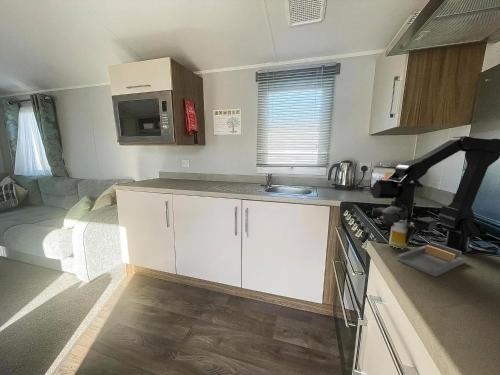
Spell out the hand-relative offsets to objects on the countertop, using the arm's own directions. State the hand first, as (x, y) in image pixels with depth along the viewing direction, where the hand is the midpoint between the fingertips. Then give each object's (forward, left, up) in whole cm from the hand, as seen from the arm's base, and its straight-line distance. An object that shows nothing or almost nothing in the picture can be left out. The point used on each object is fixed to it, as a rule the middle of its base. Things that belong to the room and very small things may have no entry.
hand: (398, 239), depth 76 cm
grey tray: (+2, +11, -2) cm, 11 cm away
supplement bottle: (0, 0, -3) cm, 3 cm away
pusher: (-3, +11, -2) cm, 12 cm away
